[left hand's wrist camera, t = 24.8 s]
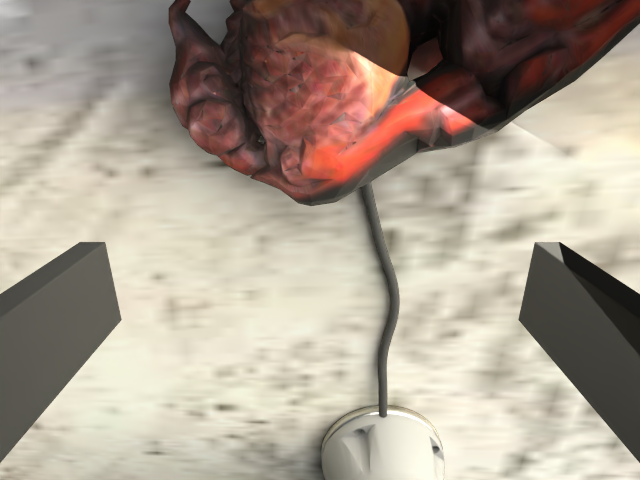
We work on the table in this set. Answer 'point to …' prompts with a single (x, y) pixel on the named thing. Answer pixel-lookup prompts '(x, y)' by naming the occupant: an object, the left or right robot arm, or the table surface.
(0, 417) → the left robot arm
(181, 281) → the table surface
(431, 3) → the sculpture
